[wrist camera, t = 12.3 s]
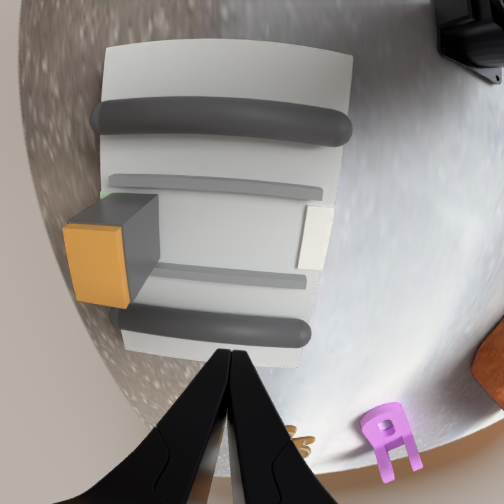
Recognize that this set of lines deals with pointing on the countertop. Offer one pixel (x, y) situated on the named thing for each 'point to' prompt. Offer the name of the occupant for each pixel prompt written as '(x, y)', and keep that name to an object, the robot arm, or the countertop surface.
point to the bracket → (389, 436)
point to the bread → (491, 364)
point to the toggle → (113, 248)
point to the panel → (226, 188)
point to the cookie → (301, 441)
